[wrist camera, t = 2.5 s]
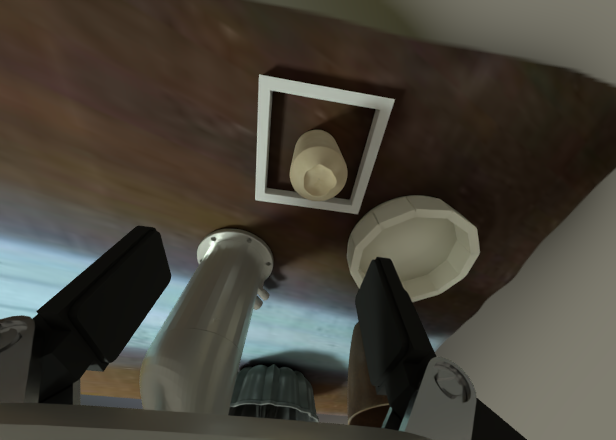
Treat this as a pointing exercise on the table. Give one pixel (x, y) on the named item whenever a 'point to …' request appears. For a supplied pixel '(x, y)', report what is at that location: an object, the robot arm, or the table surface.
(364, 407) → the plant pot
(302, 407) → the bundt pan
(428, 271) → the bowl
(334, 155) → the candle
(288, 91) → the white square frame
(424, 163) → the table surface
